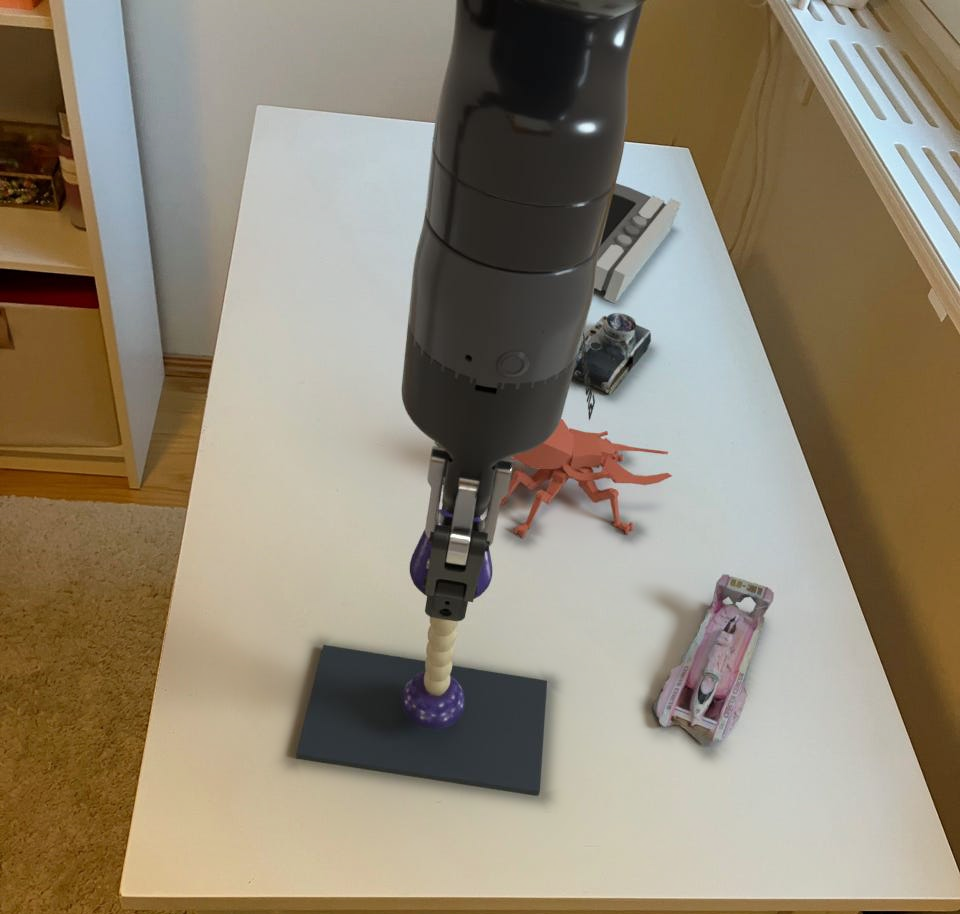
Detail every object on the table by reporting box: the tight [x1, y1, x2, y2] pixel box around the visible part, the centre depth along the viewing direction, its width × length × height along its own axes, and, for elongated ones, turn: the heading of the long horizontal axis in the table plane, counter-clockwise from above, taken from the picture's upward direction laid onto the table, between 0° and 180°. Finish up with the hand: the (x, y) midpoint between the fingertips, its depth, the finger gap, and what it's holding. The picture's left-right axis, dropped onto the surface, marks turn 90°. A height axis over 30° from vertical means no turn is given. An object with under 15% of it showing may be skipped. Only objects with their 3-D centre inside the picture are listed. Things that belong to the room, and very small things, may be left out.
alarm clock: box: [594, 182, 682, 304], centre depth 106 cm, size 17×5×16 cm
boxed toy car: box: [653, 574, 775, 747], centre depth 72 cm, size 13×6×4 cm, turn 155°
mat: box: [296, 644, 548, 797], centre depth 68 cm, size 16×9×1 cm, turn 84°
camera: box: [572, 312, 652, 395], centre depth 93 cm, size 5×10×4 cm, turn 149°
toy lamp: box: [401, 508, 493, 729], centre depth 59 cm, size 5×5×17 cm
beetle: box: [488, 332, 673, 539], centre depth 79 cm, size 15×12×13 cm
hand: (450, 577), depth 56 cm, fingers closed on toy lamp, 4 cm apart
